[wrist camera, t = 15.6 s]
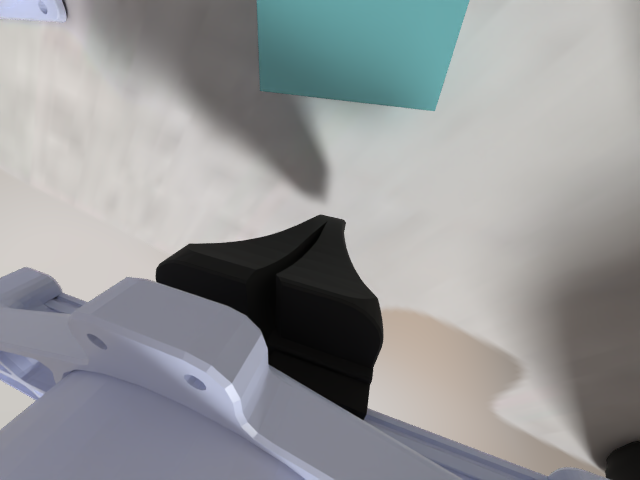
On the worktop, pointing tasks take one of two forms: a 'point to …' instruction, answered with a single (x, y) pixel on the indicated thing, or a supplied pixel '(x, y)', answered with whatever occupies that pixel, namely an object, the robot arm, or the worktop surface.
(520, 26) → the worktop surface
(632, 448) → the coffee jar
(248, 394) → the robot arm
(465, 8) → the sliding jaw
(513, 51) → the worktop surface
